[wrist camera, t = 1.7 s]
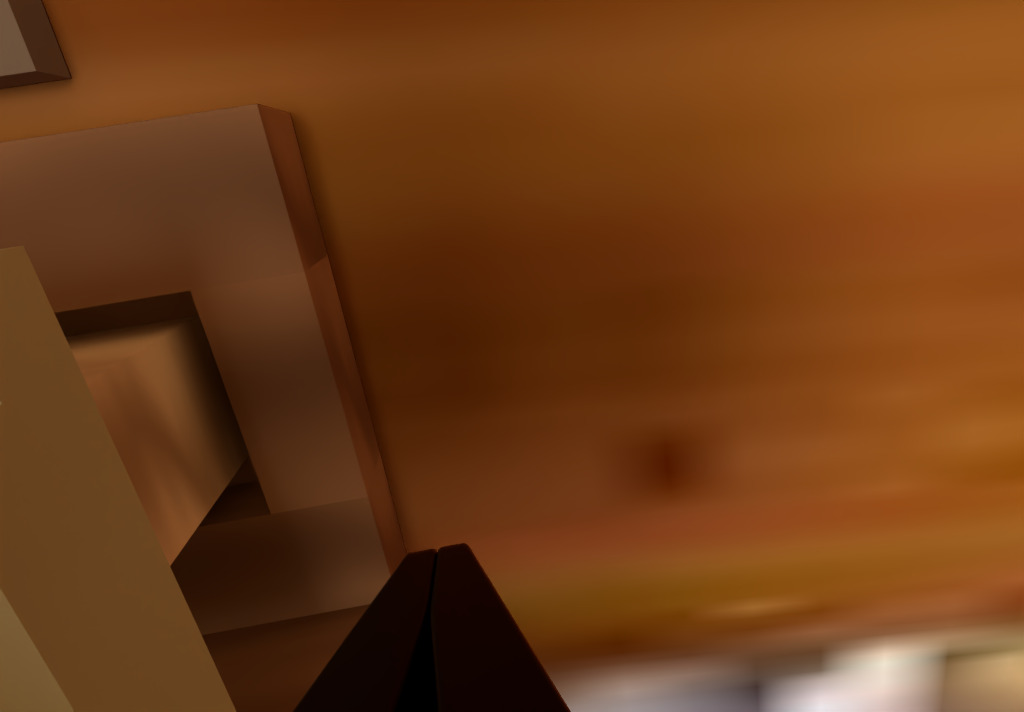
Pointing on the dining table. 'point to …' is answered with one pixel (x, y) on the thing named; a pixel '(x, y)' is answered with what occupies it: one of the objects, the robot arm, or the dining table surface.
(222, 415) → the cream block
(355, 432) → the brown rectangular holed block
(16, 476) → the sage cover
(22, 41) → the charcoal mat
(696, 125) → the dining table surface
